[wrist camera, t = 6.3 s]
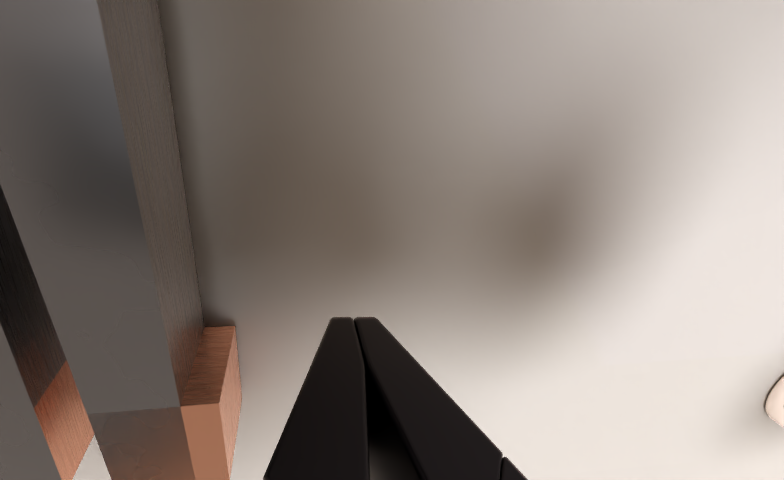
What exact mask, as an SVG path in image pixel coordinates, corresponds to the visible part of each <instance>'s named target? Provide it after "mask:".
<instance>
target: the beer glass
mask: <svg viewBox="0 0 784 480" xmlns="http://www.w3.org/2000/svg"><path fill="white" fill-rule="evenodd" d="M765 408H766V413H767V414H768V416H769V417H770V418H771V419H772V420H773V421H775V422H776V423H777V424H779V425H780V426H782V427H783V428H784V376H783V377H782V378H781V379H780V380H779V381H778V382H777V383H776V385H775V386H774V387H773V389H772V390H771V392H770V393H769V395H768V397H767V400H766V405H765Z"/></svg>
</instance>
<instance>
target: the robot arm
mask: <svg viewBox="0 0 784 480" xmlns="http://www.w3.org/2000/svg"><path fill="white" fill-rule="evenodd" d="M502 456H503V454H502V452H501V451H500V450H499V449H498V448H497V447H496V446H495V444H494V443H493V442H492V441H491V440H490V439H489V438H488V437H487V436H486V435H485V434H484V433H483V432H482V431H481V430H480V428H479V427H478V426H477V425H476V424H475V423H474V422H473V421H472V420H471V419H470V418H469V417H468V416H467V415H466V413H465V412H464V411H463V410H462V409H461V408H460V407H459V406H458V405H457V404H456V403H455V402H454V401H453V400H452V398H451V397H450V396H449V395H448V394H447V393H446V392H445V391H444V390H443V389H442V388H441V387H440V386H439V385H438V384H437V382H436V381H435V380H434V379H433V378H432V377H431V376H430V375H429V374H428V373H427V372H426V371H425V370H424V369H423V367H422V366H421V365H420V364H419V363H418V362H417V361H416V360H415V359H414V358H413V357H412V356H411V355H410V354H409V352H408V351H407V350H406V349H405V348H404V347H403V346H402V345H401V344H400V343H399V342H398V341H397V340H396V339H395V338H394V336H393V335H392V334H391V333H390V332H389V331H388V330H387V329H386V328H385V327H384V326H383V325H382V324H381V323H380V321H379V320H378V319H376V318H375V317H356V318H355V319H354V320H353V319H352V318H351V317H333V318H331V320H330V322H329V324H328V326H327V329H326V331H325V333H324V336H323V338H322V340H321V343H320V345H319V347H318V350H317V352H316V354H315V357H314V359H313V362H312V364H311V366H310V369H309V371H308V373H307V376H306V378H305V380H304V383H303V385H302V387H301V390H300V392H299V395H298V397H297V399H296V402H295V404H294V406H293V409H292V411H291V413H290V416H289V418H288V420H287V423H286V425H285V428H284V430H283V432H282V435H281V437H280V439H279V442H278V444H277V446H276V449H275V451H274V453H273V456H272V458H271V461H270V463H269V465H268V468H267V470H266V472H265V475H264V477H263V480H528V479H527V478H526V477H525V476H524V475H523V474H522V473H521V472H520V471H519V470H518V469H517V468H516V467H515V466H514V465H513V463H512V462H511V461H510V460H509V459H508V458H507V457H503V458H502Z"/></svg>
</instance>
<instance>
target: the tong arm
mask: <svg viewBox="0 0 784 480" xmlns="http://www.w3.org/2000/svg"><path fill="white" fill-rule="evenodd" d="M0 185H1V187H2V190H3V193H4V195H5V198H6V201H7V203H8V206H9V209H10V211H11V214H12V217H13V219H14V222H15V224H16V227H17V230H18V232H19V235H20V238H21V240H22V243H23V246H24V248H25V251H26V254H27V256H28V259H29V262H30V264H31V267H32V270H33V272H34V275H35V278H36V280H37V283H38V285H39V288H40V291H41V293H42V296H43V299H44V301H45V304H46V307H47V309H48V312H49V315H50V317H51V320H52V323H53V325H54V328H55V331H56V333H57V336H58V338H59V341H60V344H61V346H62V349H63V352H64V354H65V357H66V360H67V362H68V365H69V368H70V370H71V373H72V376H73V378H74V381H75V384H76V386H77V389H78V392H79V394H80V397H81V399H82V402H83V405H84V407H85V410H86V413H87V415H88V418H89V421H90V423H91V426H92V429H93V431H94V434H95V437H96V439H97V442H98V445H99V447H100V450H101V452H102V455H103V458H104V460H105V463H106V466H107V468H108V471H109V474H110V476H111V479H112V480H230V475H231V468H232V462H233V455H234V448H235V442H236V435H237V428H238V422H239V415H240V409H241V402H242V394H241V383H240V373H239V362H238V352H237V341H236V331H235V326H224V327H204V321H203V314H202V307H201V300H200V293H199V286H198V279H197V272H196V265H195V258H194V251H193V244H192V237H191V230H190V223H189V216H188V209H187V202H186V196H185V189H184V182H183V175H182V168H181V161H180V154H179V147H178V140H177V133H176V126H175V119H174V112H173V105H172V98H171V91H170V84H169V77H168V70H167V63H166V56H165V49H164V42H163V35H162V28H161V21H160V14H159V7H158V0H0Z"/></svg>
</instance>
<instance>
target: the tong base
mask: <svg viewBox="0 0 784 480" xmlns="http://www.w3.org/2000/svg"><path fill="white" fill-rule="evenodd" d="M93 436H94V431H93V429H92V426H91V423H90V421H89V418H88V415H87V413H86V410H85V407H84V405H83V402H82V399H81V397H80V394H79V392H78V389H77V386H76V384H75V381H74V378H73V376H72V373H71V370H70V368H69V365H68V362H67V360H66V357H65V354H64V352H63V349H62V346H61V344H60V341H59V338H58V336H57V333H56V331H55V328H54V325H53V323H52V320H51V317H50V315H49V312H48V309H47V307H46V304H45V301H44V299H43V296H42V293H41V291H40V288H39V285H38V283H37V280H36V278H35V275H34V272H33V270H32V267H31V264H30V262H29V259H28V256H27V254H26V251H25V248H24V246H23V243H22V240H21V238H20V235H19V232H18V230H17V227H16V224H15V222H14V219H13V217H12V214H11V211H10V209H9V206H8V203H7V201H6V198H5V195H4V193H3V190H2V187H1V185H0V480H72V479H73V477H74V475H75V473H76V470H77V468H78V466H79V464H80V462H81V460H82V458H83V456H84V454H85V452H86V450H87V448H88V446H89V444H90V442H91V440H92V438H93Z"/></svg>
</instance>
